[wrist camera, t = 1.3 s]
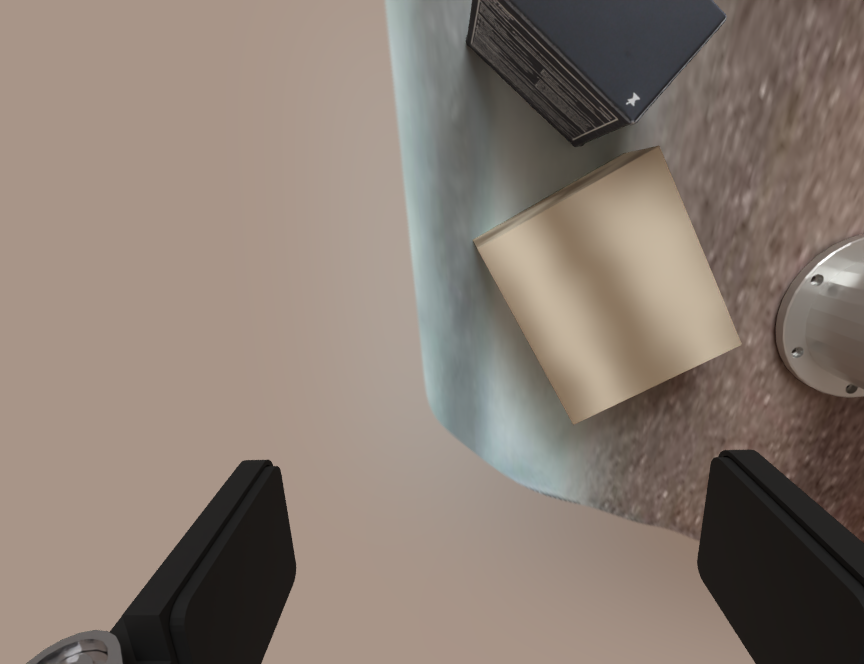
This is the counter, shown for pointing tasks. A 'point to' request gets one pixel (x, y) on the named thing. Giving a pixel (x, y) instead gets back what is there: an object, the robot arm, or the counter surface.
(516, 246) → the birch block
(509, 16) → the small box
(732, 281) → the counter surface
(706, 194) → the counter surface
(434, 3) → the counter surface
